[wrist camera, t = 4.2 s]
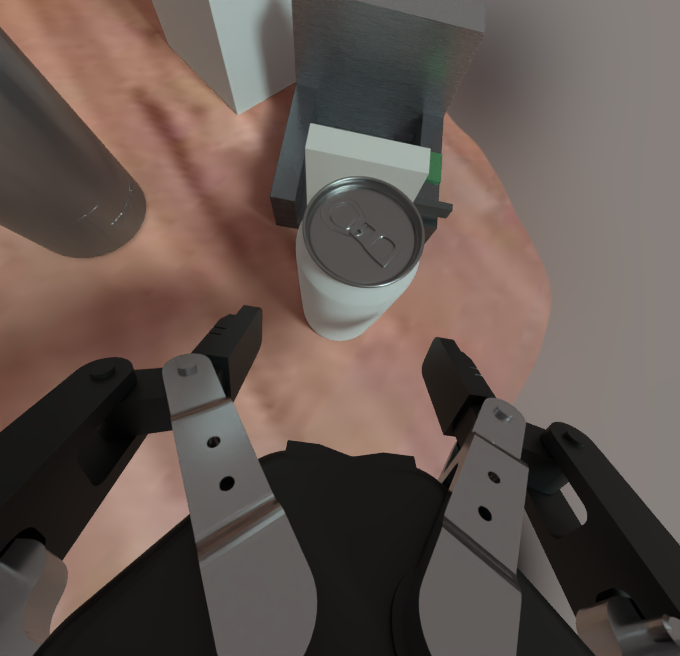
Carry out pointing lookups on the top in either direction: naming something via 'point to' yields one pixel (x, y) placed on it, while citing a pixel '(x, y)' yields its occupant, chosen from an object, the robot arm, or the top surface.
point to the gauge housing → (374, 81)
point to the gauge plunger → (368, 164)
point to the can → (356, 254)
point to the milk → (233, 45)
